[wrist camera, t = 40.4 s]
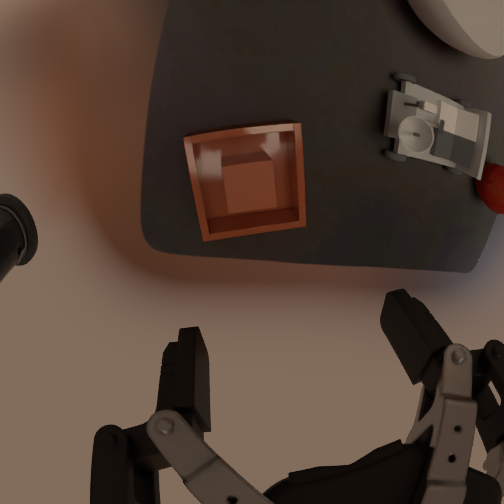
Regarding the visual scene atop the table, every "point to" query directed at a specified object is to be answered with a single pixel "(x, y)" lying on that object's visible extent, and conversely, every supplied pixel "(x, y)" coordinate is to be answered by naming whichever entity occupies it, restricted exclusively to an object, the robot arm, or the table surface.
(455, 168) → the toy car
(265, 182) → the block
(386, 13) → the table surface
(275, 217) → the terracotta bin
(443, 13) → the vase
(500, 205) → the apple
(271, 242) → the table surface
